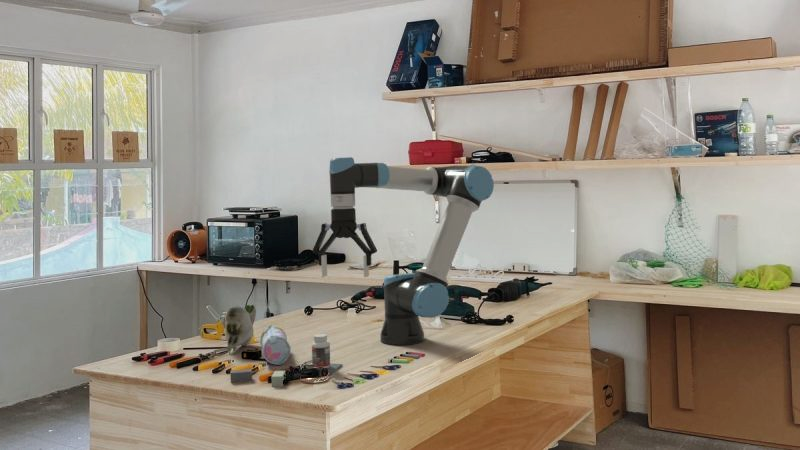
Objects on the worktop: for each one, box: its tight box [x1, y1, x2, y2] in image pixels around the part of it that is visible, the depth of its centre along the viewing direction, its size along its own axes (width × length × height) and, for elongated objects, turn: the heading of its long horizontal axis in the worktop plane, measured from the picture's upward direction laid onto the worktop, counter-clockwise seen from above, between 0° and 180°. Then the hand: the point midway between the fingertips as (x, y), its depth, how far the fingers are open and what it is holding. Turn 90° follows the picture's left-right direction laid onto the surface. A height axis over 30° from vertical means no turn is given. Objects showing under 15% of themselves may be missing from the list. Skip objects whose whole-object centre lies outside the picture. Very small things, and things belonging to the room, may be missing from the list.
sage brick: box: [270, 370, 286, 387], centre depth 230 cm, size 6×3×3 cm, turn 179°
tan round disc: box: [300, 374, 330, 384], centre depth 233 cm, size 8×8×1 cm
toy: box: [224, 304, 257, 355], centre depth 276 cm, size 8×15×20 cm
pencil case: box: [259, 324, 292, 366], centre depth 259 cm, size 21×9×10 cm, turn 12°
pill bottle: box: [311, 333, 331, 368], centre depth 244 cm, size 5×5×10 cm
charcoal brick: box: [229, 368, 253, 384], centre depth 234 cm, size 6×3×3 cm, turn 102°
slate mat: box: [328, 362, 343, 375], centre depth 244 cm, size 10×10×1 cm
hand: (345, 276), depth 251 cm, fingers open, 13 cm apart
